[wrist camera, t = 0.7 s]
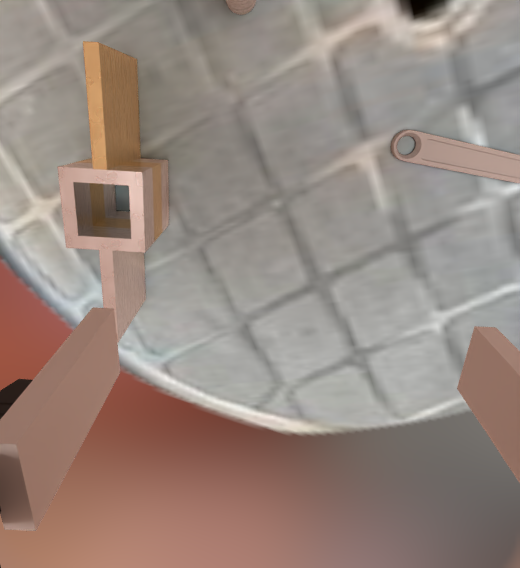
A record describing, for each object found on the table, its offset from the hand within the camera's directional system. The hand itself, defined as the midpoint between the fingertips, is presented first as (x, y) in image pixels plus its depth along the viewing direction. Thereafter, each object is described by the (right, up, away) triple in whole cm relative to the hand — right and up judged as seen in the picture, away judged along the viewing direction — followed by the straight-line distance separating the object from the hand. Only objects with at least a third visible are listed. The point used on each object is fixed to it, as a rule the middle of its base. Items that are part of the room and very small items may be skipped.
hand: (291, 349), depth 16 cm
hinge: (-13, +11, +24) cm, 29 cm away
